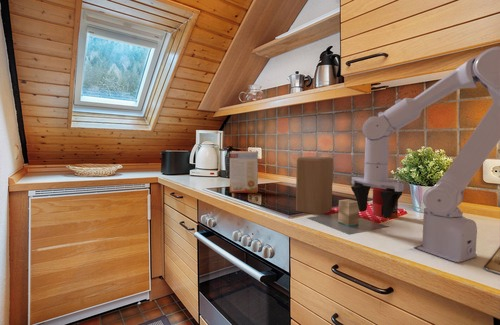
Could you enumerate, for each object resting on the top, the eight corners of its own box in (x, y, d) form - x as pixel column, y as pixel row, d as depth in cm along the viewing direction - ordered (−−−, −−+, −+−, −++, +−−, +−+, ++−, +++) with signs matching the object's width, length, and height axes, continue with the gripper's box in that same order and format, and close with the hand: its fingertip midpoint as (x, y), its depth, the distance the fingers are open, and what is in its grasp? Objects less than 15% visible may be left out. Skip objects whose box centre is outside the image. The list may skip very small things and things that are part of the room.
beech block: (358, 225, 80) (359, 201, 79) (348, 226, 78) (349, 202, 78) (347, 221, 84) (348, 199, 83) (338, 223, 82) (338, 200, 81)
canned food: (383, 220, 88) (385, 187, 87) (366, 214, 95) (367, 183, 94) (402, 219, 90) (404, 186, 89) (384, 213, 97) (385, 183, 97)
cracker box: (257, 191, 142) (258, 151, 140) (256, 193, 136) (257, 151, 134) (231, 190, 143) (231, 151, 142) (229, 192, 137) (229, 151, 136)
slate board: (389, 229, 79) (389, 226, 79) (349, 237, 72) (349, 234, 71) (342, 214, 95) (342, 212, 95) (306, 220, 88) (306, 217, 88)
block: (307, 208, 105) (308, 156, 104) (332, 212, 99) (334, 157, 97) (294, 212, 97) (295, 157, 96) (320, 217, 91) (322, 158, 90)
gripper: (412, 165, 67) (410, 219, 68) (364, 161, 80) (362, 207, 81) (393, 165, 64) (391, 222, 65) (346, 162, 77) (345, 209, 78)
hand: (374, 214), depth 73 cm, fingers open, 7 cm apart
